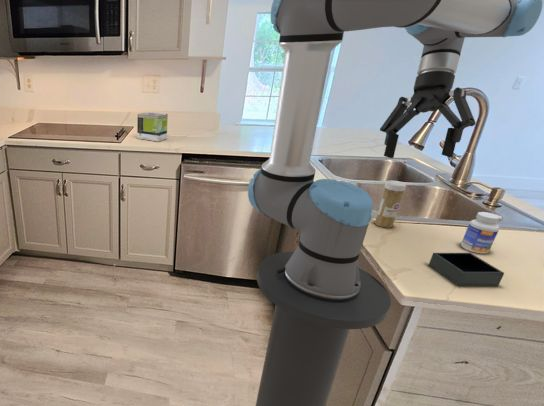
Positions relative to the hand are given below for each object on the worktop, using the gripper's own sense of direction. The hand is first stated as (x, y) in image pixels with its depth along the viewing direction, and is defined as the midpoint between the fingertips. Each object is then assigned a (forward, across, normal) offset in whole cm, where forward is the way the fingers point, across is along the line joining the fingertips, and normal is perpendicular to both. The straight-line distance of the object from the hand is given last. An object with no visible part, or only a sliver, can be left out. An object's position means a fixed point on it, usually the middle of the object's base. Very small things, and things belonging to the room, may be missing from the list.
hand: (415, 156), depth 94 cm
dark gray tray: (+27, -13, -5) cm, 30 cm away
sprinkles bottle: (+18, +11, -10) cm, 24 cm away
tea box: (-10, +134, +17) cm, 135 cm away
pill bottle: (+20, -6, -20) cm, 29 cm away
